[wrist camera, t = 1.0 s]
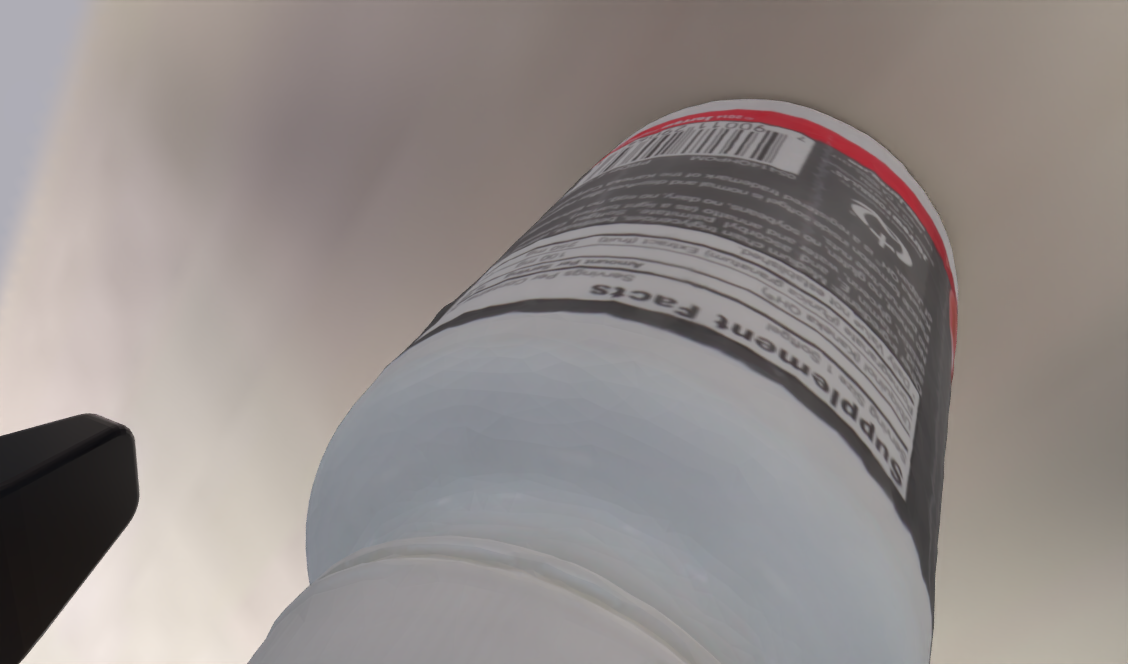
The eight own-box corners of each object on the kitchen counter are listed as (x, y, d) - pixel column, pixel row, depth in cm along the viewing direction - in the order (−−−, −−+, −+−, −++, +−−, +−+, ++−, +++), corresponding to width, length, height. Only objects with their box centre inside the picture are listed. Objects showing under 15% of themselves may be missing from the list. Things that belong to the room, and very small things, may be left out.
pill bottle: (828, 508, 16) (636, 1296, 8) (521, 330, 16) (38, 893, 8) (1056, 219, 13) (1135, 1024, 5) (667, 11, 13) (128, 407, 5)
